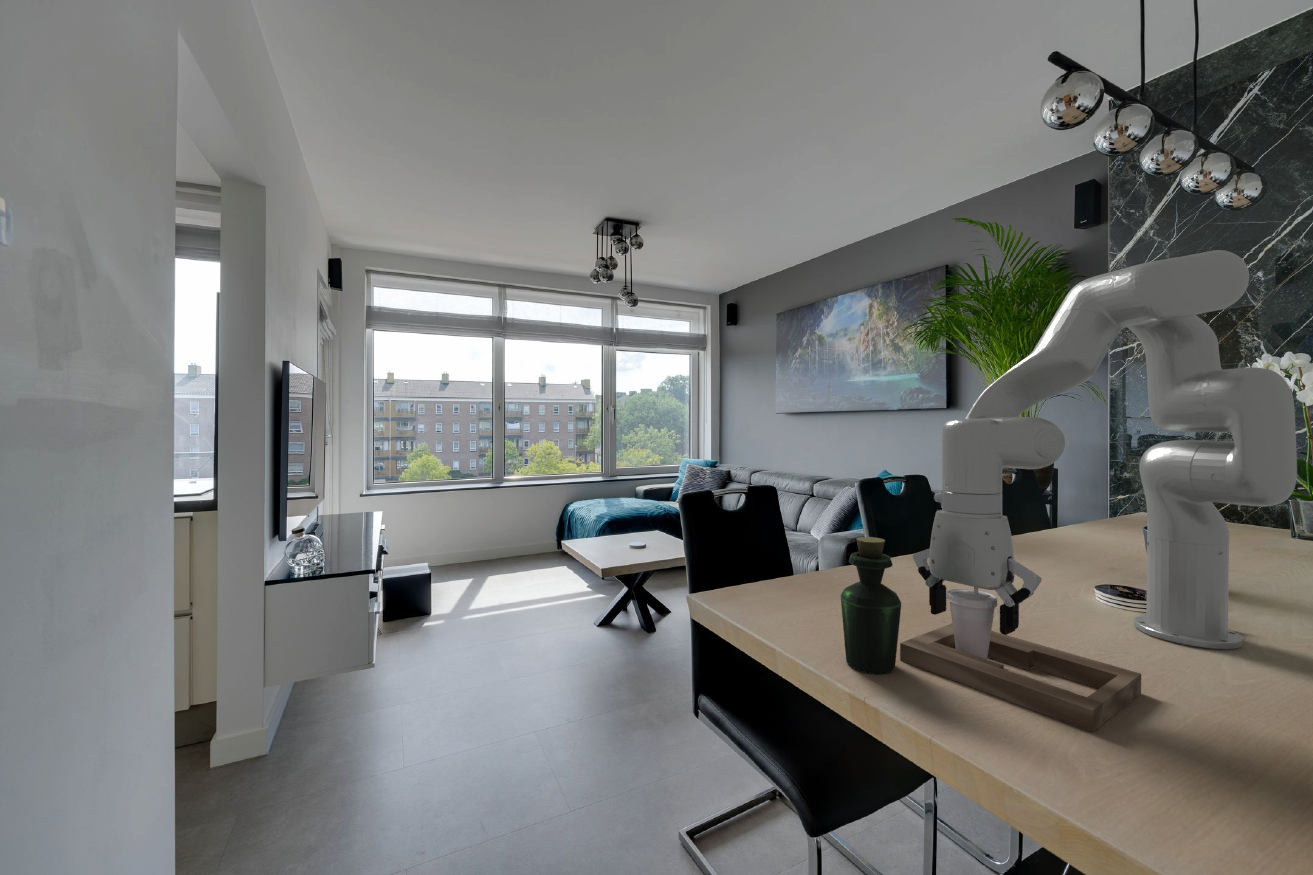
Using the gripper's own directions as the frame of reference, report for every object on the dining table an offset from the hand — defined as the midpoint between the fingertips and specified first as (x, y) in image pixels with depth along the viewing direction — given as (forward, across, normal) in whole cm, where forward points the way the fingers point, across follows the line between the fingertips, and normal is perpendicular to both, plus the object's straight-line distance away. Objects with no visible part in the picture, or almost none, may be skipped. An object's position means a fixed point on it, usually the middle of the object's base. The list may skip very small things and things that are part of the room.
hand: (971, 621), depth 79 cm
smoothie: (+6, 0, 0) cm, 6 cm away
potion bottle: (+6, -8, -13) cm, 16 cm away
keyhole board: (+6, +5, 0) cm, 8 cm away
